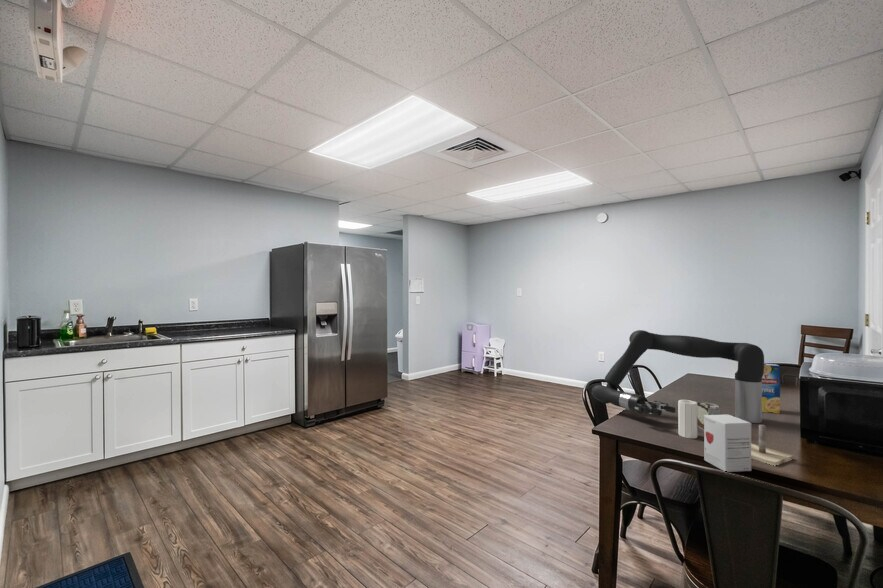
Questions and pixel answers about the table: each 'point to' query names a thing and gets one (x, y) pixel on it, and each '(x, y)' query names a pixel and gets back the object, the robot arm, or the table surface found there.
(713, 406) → the food container
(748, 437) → the supplement box
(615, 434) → the table surface
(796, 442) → the table surface
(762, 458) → the stand
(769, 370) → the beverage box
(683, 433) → the roll
